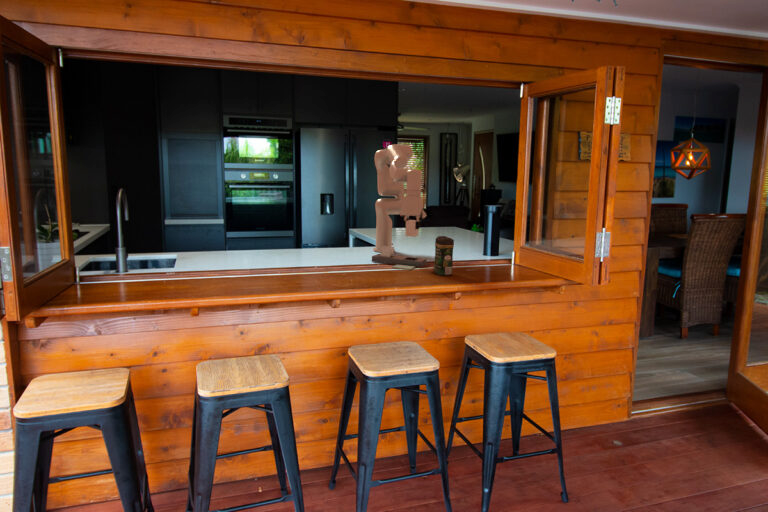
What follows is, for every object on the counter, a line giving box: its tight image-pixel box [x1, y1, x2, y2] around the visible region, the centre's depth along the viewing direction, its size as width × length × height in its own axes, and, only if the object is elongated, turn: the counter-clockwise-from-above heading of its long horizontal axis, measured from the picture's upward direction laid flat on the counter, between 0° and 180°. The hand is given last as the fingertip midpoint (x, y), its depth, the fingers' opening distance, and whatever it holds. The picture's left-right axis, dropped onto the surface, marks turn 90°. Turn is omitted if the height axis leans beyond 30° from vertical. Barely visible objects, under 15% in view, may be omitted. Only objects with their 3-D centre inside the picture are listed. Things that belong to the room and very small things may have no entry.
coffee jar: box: [433, 235, 455, 277], centre depth 254 cm, size 10×8×19 cm
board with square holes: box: [371, 253, 428, 268], centre depth 279 cm, size 9×28×3 cm, turn 66°
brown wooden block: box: [380, 246, 395, 258], centre depth 282 cm, size 5×5×8 cm
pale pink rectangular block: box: [404, 219, 420, 238], centre depth 273 cm, size 5×5×8 cm
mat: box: [391, 264, 416, 271], centre depth 267 cm, size 7×10×1 cm
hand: (412, 228), depth 273 cm, fingers closed on pale pink rectangular block, 5 cm apart
